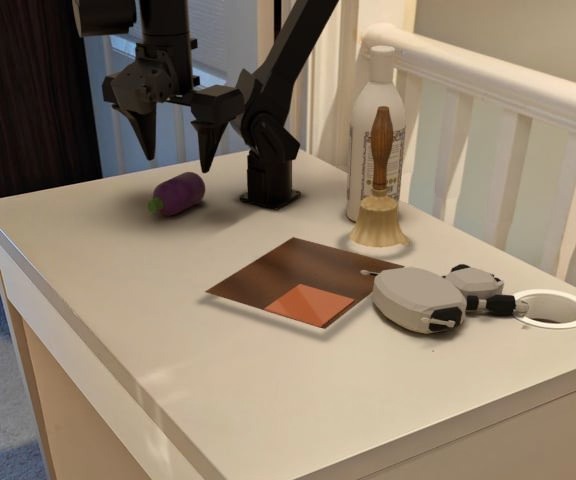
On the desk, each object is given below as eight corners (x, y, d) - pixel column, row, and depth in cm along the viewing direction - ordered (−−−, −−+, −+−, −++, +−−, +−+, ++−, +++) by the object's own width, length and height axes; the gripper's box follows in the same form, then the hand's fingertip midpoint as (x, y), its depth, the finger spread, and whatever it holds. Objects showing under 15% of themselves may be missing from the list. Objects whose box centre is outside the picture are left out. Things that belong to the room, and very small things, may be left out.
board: (293, 246, 103) (293, 236, 102) (404, 275, 97) (405, 265, 96) (205, 301, 92) (204, 291, 91) (324, 339, 85) (325, 328, 84)
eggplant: (188, 196, 116) (186, 165, 113) (212, 202, 114) (210, 171, 112) (140, 219, 110) (136, 187, 107) (165, 226, 108) (162, 193, 105)
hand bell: (360, 263, 99) (368, 121, 89) (332, 237, 105) (337, 101, 95) (421, 252, 102) (436, 113, 91) (390, 228, 107) (401, 94, 97)
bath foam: (408, 217, 110) (424, 48, 97) (371, 230, 107) (382, 57, 94) (372, 202, 114) (383, 38, 101) (335, 214, 111) (341, 47, 98)
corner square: (299, 285, 92) (299, 283, 92) (354, 301, 89) (354, 299, 89) (264, 310, 87) (264, 308, 87) (320, 327, 85) (320, 325, 84)
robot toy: (463, 288, 96) (351, 304, 90) (471, 249, 93) (356, 264, 87) (530, 334, 88) (411, 356, 82) (541, 294, 85) (419, 314, 79)
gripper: (60, 34, 97) (82, 170, 107) (185, 54, 89) (196, 199, 100) (124, 18, 104) (139, 147, 115) (244, 35, 97) (249, 172, 107)
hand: (177, 166), depth 109 cm, fingers open, 9 cm apart
